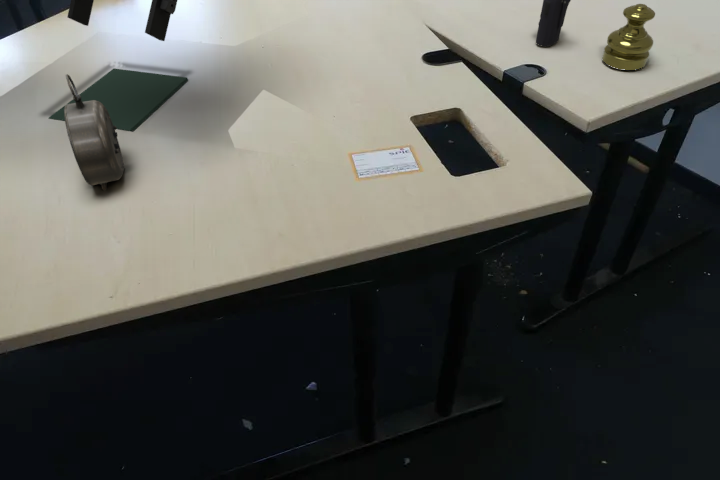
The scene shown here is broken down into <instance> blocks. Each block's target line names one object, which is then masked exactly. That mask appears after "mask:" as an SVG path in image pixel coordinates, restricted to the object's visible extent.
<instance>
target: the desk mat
mask: <svg viewBox="0 0 720 480" xmlns="http://www.w3.org/2000/svg"><path fill="white" fill-rule="evenodd" d="M188 81H189V78H188V77H187V76H186V77H185V76H178V75H172V74H171V75H170V74H164V73H163V74H162V73H155V72H154V73H153V72H145V71H139V70H132V69H131V70H130V69H124V68H123V69H122V68H112V69H111V70H109V71H108V72H107V73H106V74H104V75H103V76H101V77H100V78H99V79H97V80H96V81H95V82H94V83H92V84H91V85H90V86H88V87H87V88H86V89H84V90H83V91H82V92H81V93H78V95H80V96H81V100H82V102H85V101H92V100H96V101H99V102H101V103H102V104H103V105H104V106H105V108H106V109H107V111H108V113H109V116H110V118H111V121H112V123H113V126H116V127H117V129H116V130H119V131H125V132H131V133H133V132H134V131H136V129H137V128H138V127H140V125H142V124H143V123H144V122H145V121H146V120H148V118H149V117H150V116H151V115H153V114H154V113H155V112H156V111H157V110H158V109H159V108H160V107H161V106H162V105H164V103H165V102H167V100H169V99H170V98H171V97H172V96H173V95H174V94H175V93H176V92H177V91H179V90H180V89H181V88H182V87H183V86H184V85H185V84H186V83H187V82H188ZM73 103H76V102H75V101H74V99H73V98H72V99H71V100H70V101H69V102H68V103H66V104H73ZM66 104H64V105H63V106H62V107H60V108H59V109H57V111H56V112H54V113H53V114H51V115H50V116H49V117H48V119H49V120H54V121H62V122H65V117H64V107H65V106H66Z"/></svg>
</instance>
